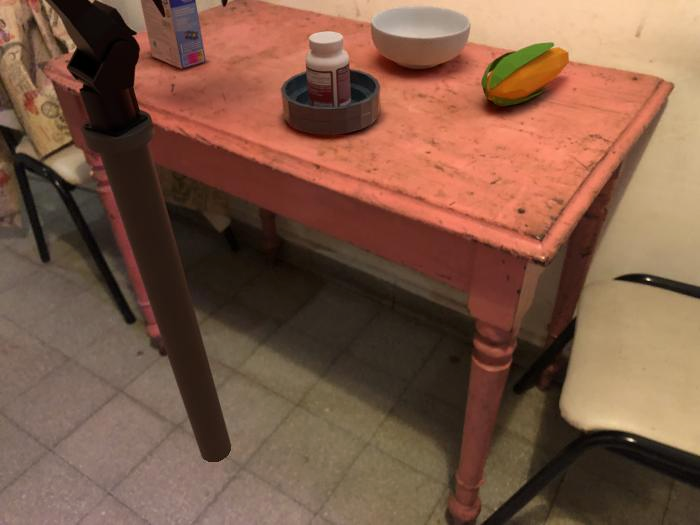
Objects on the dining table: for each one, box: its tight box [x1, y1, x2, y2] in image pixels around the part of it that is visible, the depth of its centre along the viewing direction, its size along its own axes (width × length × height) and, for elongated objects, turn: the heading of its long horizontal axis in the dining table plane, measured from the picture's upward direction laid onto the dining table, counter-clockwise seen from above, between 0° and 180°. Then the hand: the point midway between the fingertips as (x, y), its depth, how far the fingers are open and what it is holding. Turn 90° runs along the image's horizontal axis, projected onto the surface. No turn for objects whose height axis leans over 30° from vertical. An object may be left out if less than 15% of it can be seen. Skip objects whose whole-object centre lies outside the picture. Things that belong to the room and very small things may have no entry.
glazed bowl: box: [280, 68, 381, 136], centre depth 86 cm, size 14×14×4 cm
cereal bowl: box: [370, 5, 472, 70], centre depth 101 cm, size 17×17×7 cm
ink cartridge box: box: [140, 0, 207, 70], centre depth 102 cm, size 10×6×14 cm, turn 47°
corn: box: [480, 41, 570, 107], centre depth 90 cm, size 7×8×20 cm
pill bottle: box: [305, 30, 351, 107], centre depth 84 cm, size 6×6×11 cm
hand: (194, 10), depth 90 cm, fingers open, 9 cm apart
